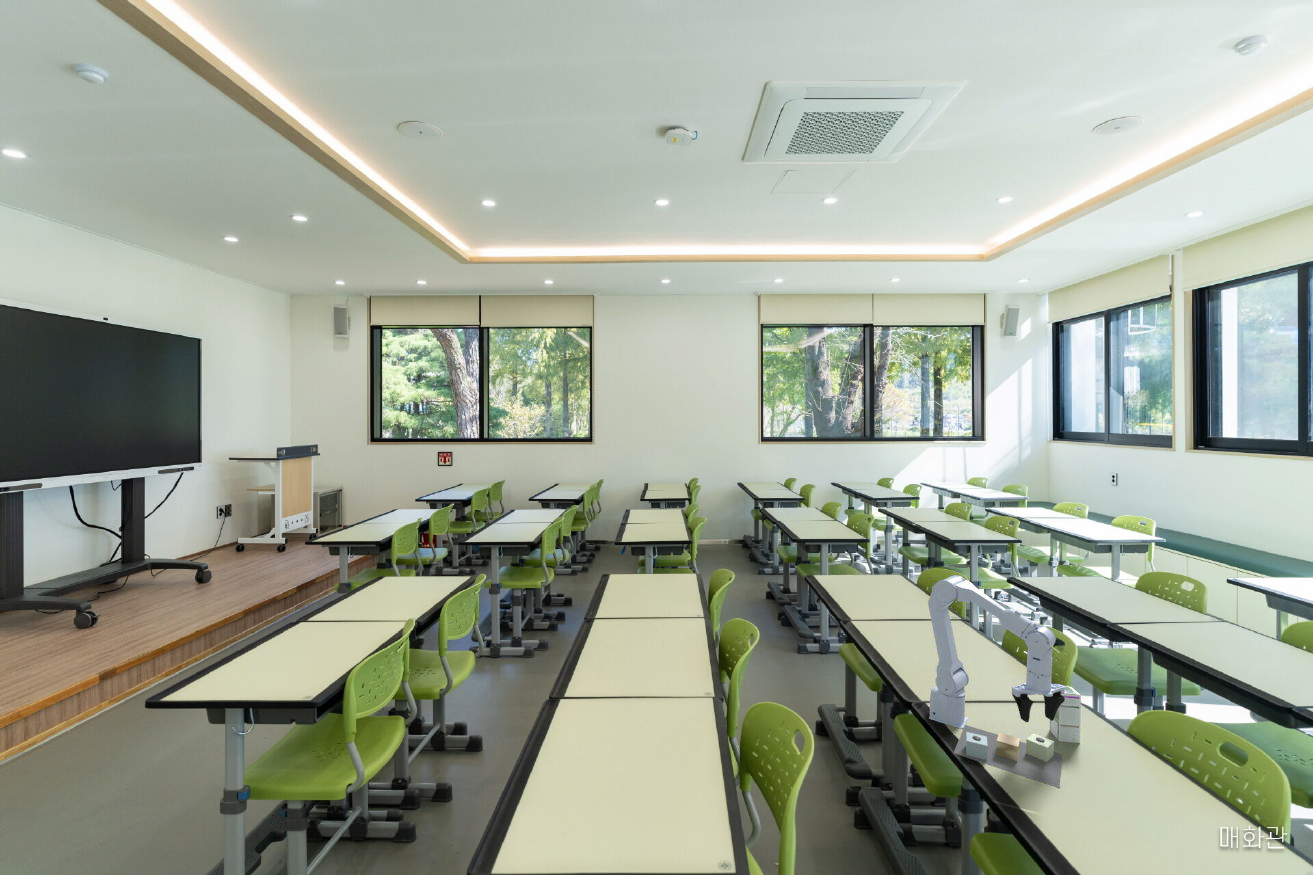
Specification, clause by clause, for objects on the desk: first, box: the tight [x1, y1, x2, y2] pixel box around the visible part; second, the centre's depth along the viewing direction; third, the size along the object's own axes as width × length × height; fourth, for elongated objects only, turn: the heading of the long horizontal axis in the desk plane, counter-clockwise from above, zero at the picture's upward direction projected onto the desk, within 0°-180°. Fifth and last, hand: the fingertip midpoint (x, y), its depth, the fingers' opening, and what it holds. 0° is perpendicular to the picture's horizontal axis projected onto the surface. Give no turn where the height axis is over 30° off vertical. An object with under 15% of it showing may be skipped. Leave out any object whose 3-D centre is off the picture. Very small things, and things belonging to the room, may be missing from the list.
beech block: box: [996, 732, 1021, 761], centre depth 157 cm, size 5×5×4 cm
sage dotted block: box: [1025, 733, 1055, 762], centre depth 157 cm, size 5×5×4 cm
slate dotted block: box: [966, 732, 988, 760], centre depth 157 cm, size 5×5×4 cm
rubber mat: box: [953, 724, 1063, 789], centre depth 157 cm, size 24×18×1 cm
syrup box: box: [1049, 684, 1082, 744], centre depth 165 cm, size 6×6×14 cm
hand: (1036, 719), depth 157 cm, fingers open, 7 cm apart
